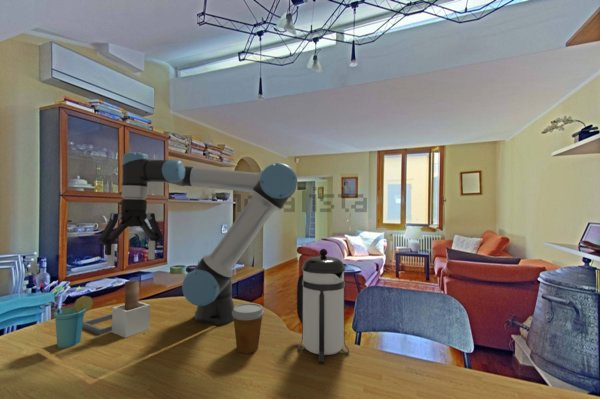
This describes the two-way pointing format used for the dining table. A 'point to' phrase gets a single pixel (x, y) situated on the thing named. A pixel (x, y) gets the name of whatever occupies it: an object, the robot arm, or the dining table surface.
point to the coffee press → (322, 305)
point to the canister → (130, 320)
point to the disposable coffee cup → (247, 326)
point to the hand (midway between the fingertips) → (132, 262)
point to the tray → (89, 326)
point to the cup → (70, 321)
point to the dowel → (131, 295)
